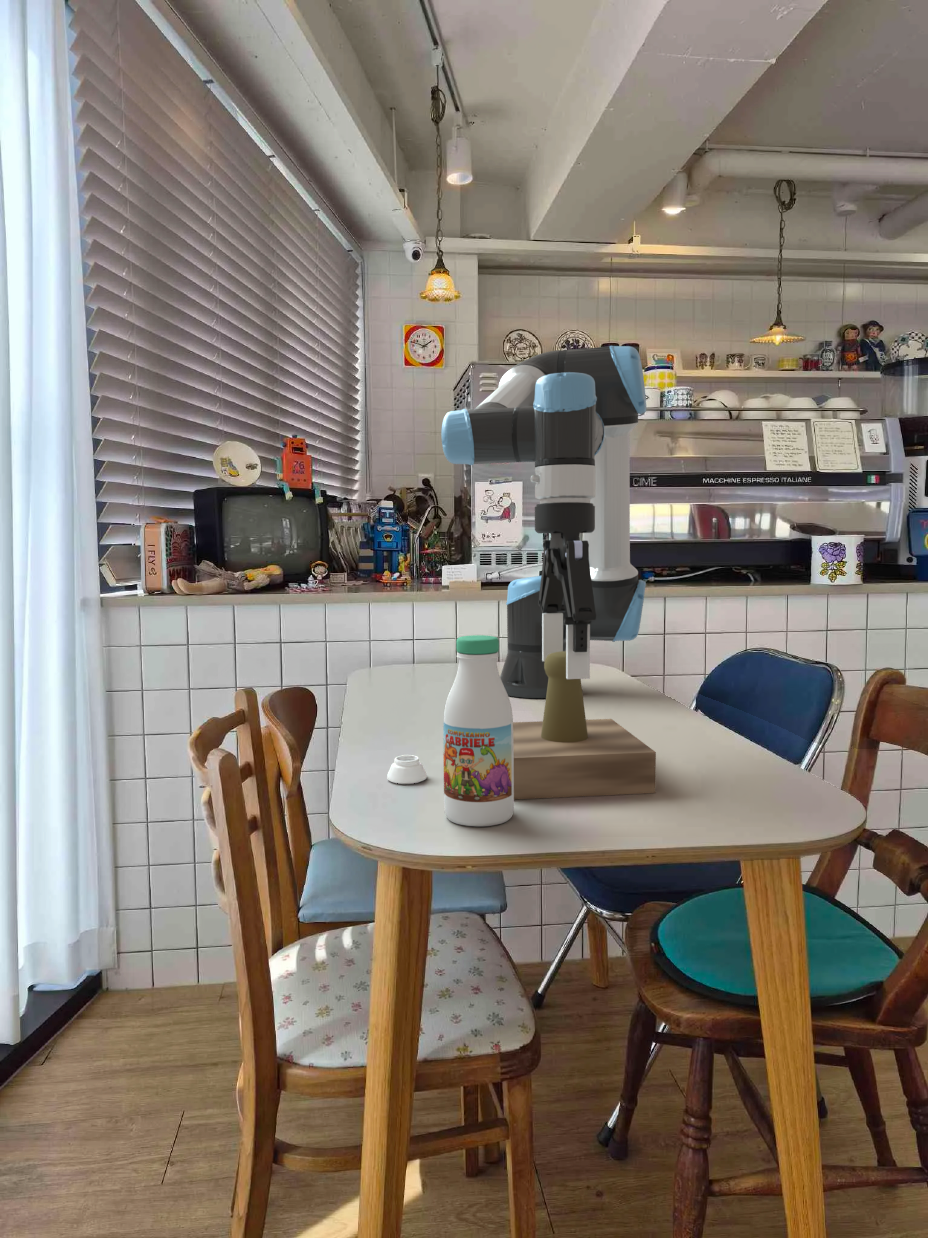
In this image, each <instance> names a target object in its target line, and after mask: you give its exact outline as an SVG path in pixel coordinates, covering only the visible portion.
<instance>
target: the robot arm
mask: <svg viewBox="0 0 928 1238" xmlns="http://www.w3.org/2000/svg"><path fill="white" fill-rule="evenodd" d="M646 412H647V398H646V385H645V380H644V373H643V367H642V360H641V356H640V354H639V351H638V350H637V348H635V347H633V346H629V345H626V346H625V345H621V346H620V345H609V346H601V347H600V346H599V347H598V346H597V347H588V348H587V347H586V348H575V349H572V348H571V349H564V350H563V349H562V350H561V349H557V350H550V351H546V352H542V353H539V354H537V355H534V356H532V357H529V358H527V359H525V360H523V361H521V362H519V363H518V364H516V365H514V366H513V367H511V368H510V369H509V370H508V371H506V372H505V373H504V374H503V376H502V377H501V378H500V381H499V383H498V386H497V388H496V389H495V390H494V391H493V392H492V393H490V395H488V396H487V397H485V399H484V400H483V401H482V402H480V403H479V405H477V406H476V407H475V408H474V409H467V408H462V409H457V410H451V411H448V412H447V413H446V414H445V416H444V417H443V419H442V424H441V431H440V432H441V435H440V436H441V445H442V450H443V454H444V457H445V459H446V460H447V462H449V463H451V464H453V465H469V466H474V465H484V464H485V465H487V464H509V463H510V464H511V463H534V473H535V474H532V475H531V476H530V482H531V483H535V486H534V497H535V499H536V500H539V503H538V504H537V503H536V505H535V506H534V531H535V532H536V533H537V534H550V539H544V540H543V543H542V546H543V547H542V548H543V555H542V556H543V558H542V566H541V575H535V576H529V577H522V578H518V579H514V580H512V581H510V583H509V584H508V586H507V595H506V596H507V600H506V603H505V604H506V618H507V619H506V623H507V626H506V627H507V630H506V631H507V634H506V636H507V641H506V643H507V650H506V651H507V652H506V657H505V660H504V662H503V666H502V669H501V672H500V678H501V681H502V683H503V685H504V688H505V690H506V692H507V694H508V697H509V696H510V697H514V698H523V699H546V694H547V687H548V679H549V677H548V676H547V674H546V672H545V668H544V662H545V659H546V657H547V655H549V654H551V653H554V652H560V651H566V678H567V679H581V680H583V679H584V680H586V679H588V680H589V679H590V677H591V676H590V675H591V671H590V670H591V657H590V656H591V641H606V642H607V641H608V642H613V643H614V642H625V641H633V640H635V639H637V637H638V635H639V632H640V628H641V627H640V626H641V622H642V616H643V615H642V613H643V606H644V599H645V593H646V592H645V591H646V586H647V583H646V580H642V579H639V571H638V569H637V568H636V567H635V566H634V565H632V563H631V551H630V550H631V548H630V547H631V540H630V539H631V537H630V536H631V530H630V529H631V527H630V526H631V523H630V522H631V517H630V514H631V513H630V512H631V509H630V508H631V506H630V505H631V504H630V501H631V497H630V495H631V494H630V491H631V490H630V487H631V484H630V481H631V480H630V478H631V476H630V473H631V471H630V468H631V466H630V459H631V458H630V453H631V452H630V436H631V433H632V431H633V430H634V429H635V428H636V427H637V426H638V425H639V415H642V414H645V413H646ZM580 534H583V540H581V538H580Z"/></svg>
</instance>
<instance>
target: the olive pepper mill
mask: <svg viewBox="0 0 928 1238" xmlns="http://www.w3.org/2000/svg"><path fill="white" fill-rule="evenodd" d="M544 668H545V672H546V674H547V676H548V677H549V679H548V687H547V694H546V698H545V703H544V711H543V718H542V721H543V725H542V732H541V737H542V738H543V739H545V740H548V741H553V742H579V741H583V740H586V739H587V738H588V733H587V725H586V720H587V719H586V710H585V709H586V708H585V703H584V695H583V694H584V693H583V686H582V679H567V678H566V651H560V652H554V653H551V654H549V655H547V657H546V659H545V662H544Z"/></svg>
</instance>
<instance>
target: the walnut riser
mask: <svg viewBox="0 0 928 1238" xmlns="http://www.w3.org/2000/svg"><path fill="white" fill-rule="evenodd" d="M542 725H543V720H541V721H516V722H514V721H513V748H514V801H515V800H533V799H554V798H558V799H559V798H574V797H577V798H578V797H594V796H595V797H596V796H597V797H598V796H615V795H616V796H617V795H618V796H619V795H638V794H656V775H657V774H656V768H657V767H656V765H657V764H656V760H657V752H656V751H655V750H654V749H652V747H650V746H648V745H647V744H646V743H645V742H643V741H642V740H641V739H639V738H638V737H636V736H635V735H634V734H632V732H630V731H628V730H627V729H626V728H624V727H623V726H622V725H620V724H619V723H618V722H617V721H615V720H613V719H612V718H600V719H599V718H596V719H586V725H587V733H588V738H587V739H586V740H583V741H579V742H553V741H548V740H545V739H543V738H542V737H541V732H542Z"/></svg>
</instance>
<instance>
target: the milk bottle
mask: <svg viewBox="0 0 928 1238" xmlns="http://www.w3.org/2000/svg"><path fill="white" fill-rule="evenodd" d="M499 644H500V641H499V638H498V637H496V636H492V635H483V634H482V635H481V634H477V635H476V634H475V635H463V636H459V637H458V638H456V646H455V647H456V652H457V653H456V658H457V659H458V667H457V672H456V676H455V677H454V681H453V684H452V686H451V688H450V691H449V693H448V695H447V698H446V701H445V706H444V711H443V738H442V739H443V742H442V743H443V751H442V752H443V754H442V755H443V807H444V808H443V809H444V814H445V817H446V819H447V820H449V821H450V822H452V823H454V824H457V825H461V826H466V827H490V826H497V825H501V824H504V823H506V822H508V821H510V819H511V818H512V816H513V814H514V806H515V805H514V804H515V800H514V748H513V722H514V721H513V719H514V718H513V707H512V703H511V700H510V697H509V695H508V694H507V692H506V690H505V688H504V685H503V683H502V681H501V678H500V676H501V674H500V672H499V668H498V664H497V663H498V660H497V659H498V658H499V655H500V654H499V650H500V645H499Z"/></svg>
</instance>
